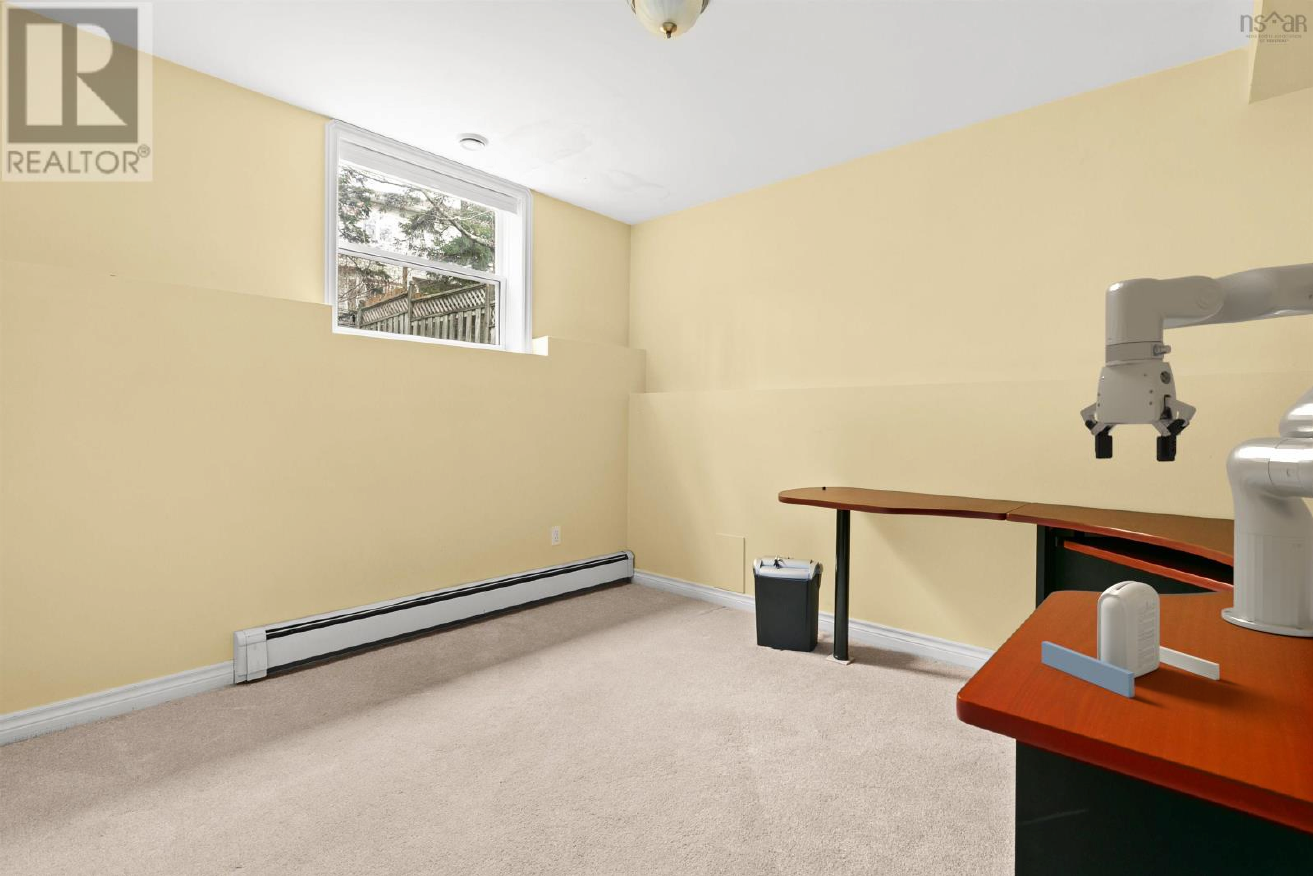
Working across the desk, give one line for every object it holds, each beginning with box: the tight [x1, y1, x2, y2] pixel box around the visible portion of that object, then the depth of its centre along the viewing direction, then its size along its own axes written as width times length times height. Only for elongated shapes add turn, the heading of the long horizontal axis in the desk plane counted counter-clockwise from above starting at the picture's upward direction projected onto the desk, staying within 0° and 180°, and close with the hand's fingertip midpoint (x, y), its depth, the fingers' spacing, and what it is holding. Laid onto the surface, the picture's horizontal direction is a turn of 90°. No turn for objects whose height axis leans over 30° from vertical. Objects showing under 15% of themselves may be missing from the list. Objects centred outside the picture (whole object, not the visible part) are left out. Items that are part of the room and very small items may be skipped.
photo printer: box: [1096, 580, 1161, 679], centre depth 84 cm, size 10×4×12 cm, turn 119°
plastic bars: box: [1041, 640, 1220, 699], centre depth 84 cm, size 17×12×3 cm
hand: (1133, 459), depth 100 cm, fingers open, 9 cm apart
